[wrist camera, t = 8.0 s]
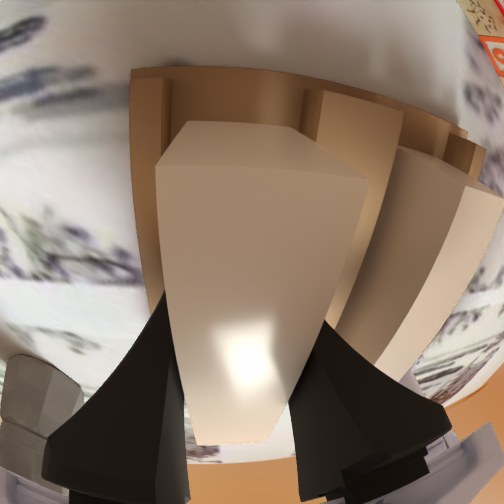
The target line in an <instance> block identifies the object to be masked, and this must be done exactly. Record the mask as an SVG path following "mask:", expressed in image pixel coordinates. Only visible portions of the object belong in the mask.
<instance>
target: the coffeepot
mask: <svg viewBox="0 0 504 504" xmlns="http://www.w3.org/2000/svg"><path fill="white" fill-rule="evenodd" d="M83 405H84V397H83V392H82V390H81V388H80V387H79V386H78V385H77V384H76V383H75V382H74V381H73V380H72V379H71V378H70V377H68V376H67V375H66V374H64V373H63V372H61V371H60V370H58V369H56V368H55V367H53V366H51V365H49V364H47V363H45V362H43V361H41V360H39V359H36V358H33V357H30V356H26V355H15V356H13V357H12V358H11V359H8V362H7V367H6V372H5V378H4V384H3V391H2V399H1V408H0V416H1V418H2V420H3V421H2V423H1V427H0V466H1V467H3V468H5V469H7V470H9V471H11V472H13V473H15V474H17V475H19V476H21V477H24V478H26V479H28V480H30V481H32V482H35V483H37V484H39V485H40V486H42V487H45V488H47V489H50V490H53V491H55V492H58V493H61V494H64V495H67V496H69V494H68V489H66V488H64V487H61V486H58V485H56V484H53V483H51V482H48V481H46V480H44V479H43V478H42V477H41V470H42V461H43V453H44V448H45V445H46V442H47V437H48V436H49V435H50V434H51V433H53V432H54V431H55V430H56V429H57V428H59V427H60V426H61V425H62V424H63V423H64V422H66V421H67V420H68V419H69V418H70V417H71V416H73V415H74V414H75V413H76V412H77V411H78V410H79V409H80V408H81V407H82V406H83Z"/></svg>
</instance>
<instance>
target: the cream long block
mask: <svg viewBox="0 0 504 504" xmlns="http://www.w3.org/2000/svg"><path fill="white" fill-rule="evenodd" d="M503 209H504V198H503V197H502V196H500V195H499V194H497V193H496V192H494V191H493V190H491V189H490V188H488V187H487V186H485V185H484V184H482V183H481V182H479V181H477V180H476V179H474V178H472V177H471V176H469V175H467V174H466V173H464V172H462V171H461V170H459V169H457V168H455V167H454V166H452V165H450V164H448V163H446V162H444V161H443V160H441V159H439V158H437V157H435V156H433V155H430V154H427V153H423V152H420V151H417V150H414V149H410V148H407V147H403V146H400V145H397V149H396V154H395V158H394V162H393V166H392V170H391V173H390V177H389V181H388V185H387V188H386V192H385V195H384V199H383V202H382V205H381V209H380V212H379V215H378V218H377V221H376V224H375V228H374V231H373V234H372V236H371V239H370V242H369V245H368V248H367V251H366V254H365V256H364V259H363V262H362V265H361V267H360V270H359V272H358V275H357V278H356V280H355V283H354V285H353V288H352V290H351V293H350V295H349V298H348V300H347V302H346V305H345V307H344V309H343V312H342V314H341V316H340V319H339V321H338V323H337V325H336V328H335V331H336V332H337V333H338V334H339V335H340V336H341V337H342V338H343V339H344V340H345V341H346V342H347V343H348V344H349V345H350V346H351V347H352V348H353V349H355V350H356V351H357V352H358V353H359V354H360V355H362V356H363V357H364V358H365V359H366V360H368V361H369V362H370V363H371V364H373V365H374V366H375V367H376V368H378V369H379V370H381V371H382V372H383V373H385V374H386V375H388V376H389V377H391V378H392V379H394V380H395V381H397V382H399V380H400V379H401V378H402V377H403V376H404V375H405V374H406V372H407V371H408V370H409V369H410V368H411V366H412V365H413V364H414V363H415V362H416V360H417V359H418V358H419V357H420V355H421V354H422V353H423V351H424V350H425V349H426V348H427V346H428V345H429V344H430V342H431V341H432V340H433V338H434V337H435V335H436V334H437V333H438V331H439V330H440V328H441V327H442V325H443V324H444V323H445V321H446V320H447V318H448V317H449V315H450V314H451V312H452V310H453V309H454V307H455V306H456V304H457V303H458V301H459V299H460V298H461V296H462V294H463V293H464V291H465V289H466V287H467V286H468V284H469V282H470V280H471V279H472V277H473V275H474V273H475V271H476V269H477V267H478V265H479V264H480V262H481V260H482V258H483V256H484V253H485V251H486V249H487V247H488V245H489V243H490V241H491V238H492V236H493V234H494V232H495V229H496V227H497V224H498V222H499V219H500V217H501V214H502V212H503Z"/></svg>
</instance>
